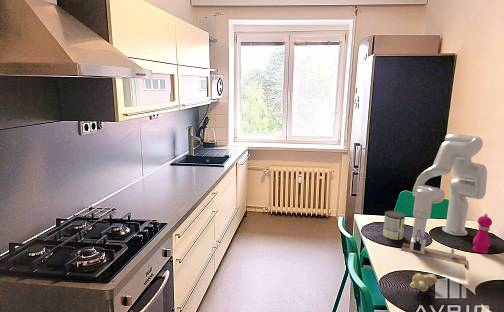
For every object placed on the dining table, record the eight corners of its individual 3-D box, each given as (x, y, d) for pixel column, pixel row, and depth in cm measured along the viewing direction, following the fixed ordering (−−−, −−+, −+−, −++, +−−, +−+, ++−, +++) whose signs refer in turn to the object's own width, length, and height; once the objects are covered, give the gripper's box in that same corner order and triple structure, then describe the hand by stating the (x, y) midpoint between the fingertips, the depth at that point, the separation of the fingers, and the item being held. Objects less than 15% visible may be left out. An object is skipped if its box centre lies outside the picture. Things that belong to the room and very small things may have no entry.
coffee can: (382, 233, 195) (384, 209, 193) (401, 236, 192) (404, 212, 190) (382, 240, 186) (385, 215, 183) (403, 243, 183) (406, 218, 180)
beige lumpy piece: (438, 274, 140) (425, 275, 133) (439, 292, 139) (426, 294, 131) (418, 271, 147) (404, 272, 139) (418, 289, 145) (405, 291, 137)
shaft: (450, 256, 167) (451, 248, 166) (453, 256, 166) (454, 248, 165) (450, 258, 164) (451, 250, 163) (453, 259, 163) (454, 251, 163)
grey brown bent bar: (402, 245, 180) (403, 242, 180) (465, 259, 167) (465, 256, 167) (400, 253, 171) (400, 250, 171) (466, 268, 158) (466, 265, 158)
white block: (409, 250, 171) (410, 240, 170) (410, 245, 176) (411, 236, 175) (423, 253, 168) (425, 243, 167) (424, 248, 173) (425, 239, 172)
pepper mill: (491, 255, 172) (497, 216, 169) (475, 253, 174) (481, 215, 170) (484, 248, 179) (490, 212, 176) (469, 247, 181) (475, 210, 177)
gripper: (414, 207, 178) (410, 239, 181) (411, 217, 163) (407, 251, 166) (430, 210, 174) (426, 242, 177) (429, 220, 159) (424, 255, 162)
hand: (417, 246), depth 172 cm, fingers open, 9 cm apart
